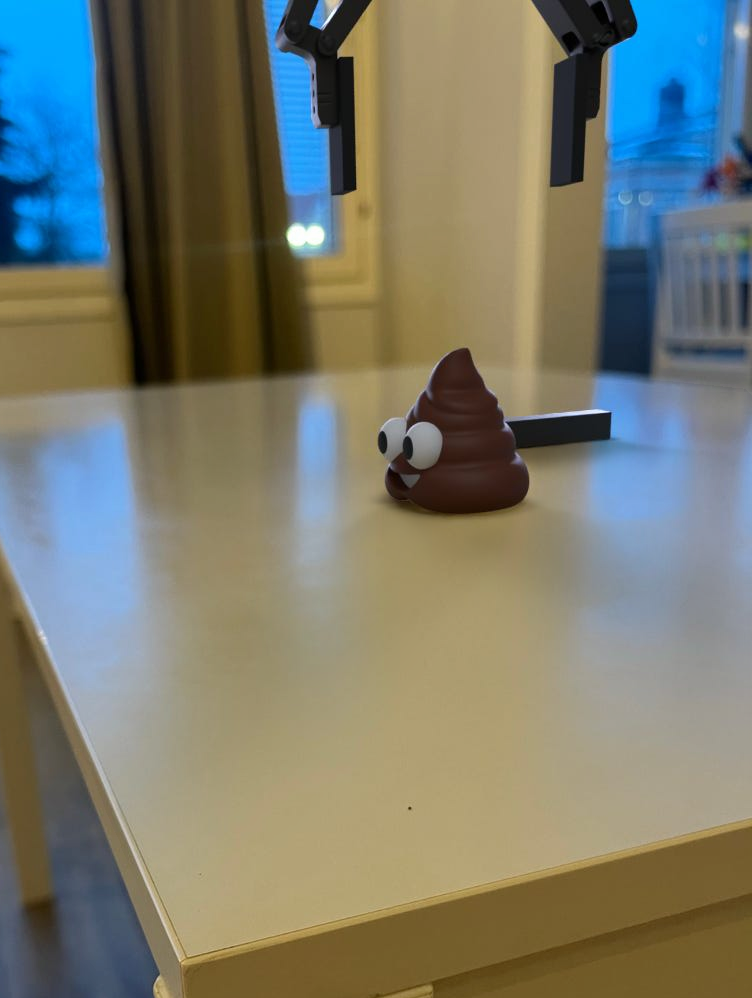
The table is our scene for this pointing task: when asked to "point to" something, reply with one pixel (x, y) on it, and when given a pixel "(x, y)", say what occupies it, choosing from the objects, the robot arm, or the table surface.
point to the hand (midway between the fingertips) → (457, 189)
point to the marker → (560, 428)
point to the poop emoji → (454, 446)
